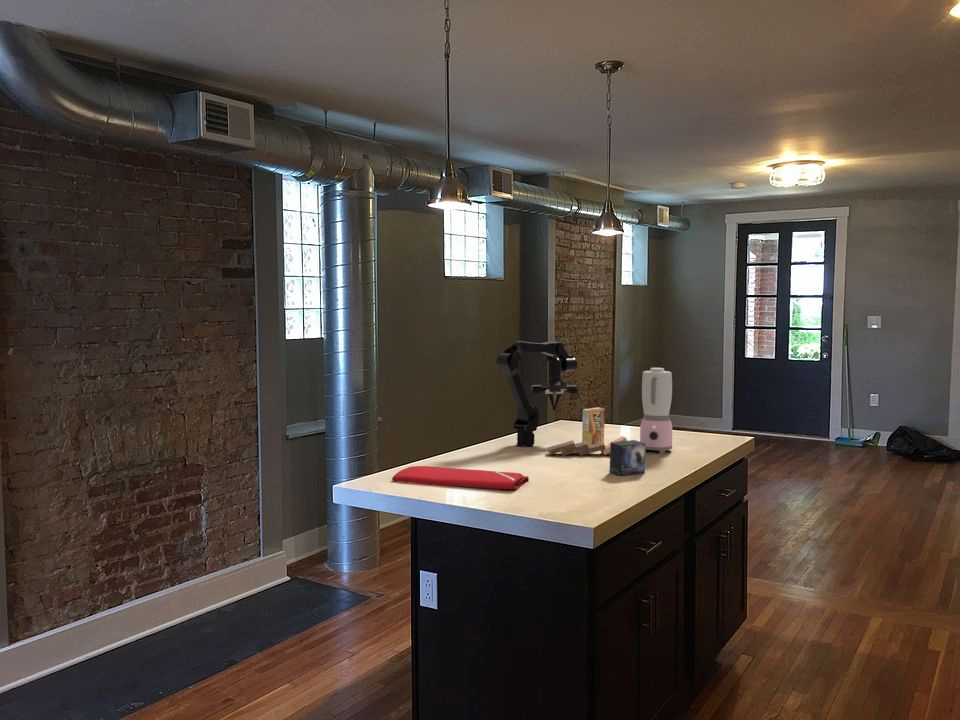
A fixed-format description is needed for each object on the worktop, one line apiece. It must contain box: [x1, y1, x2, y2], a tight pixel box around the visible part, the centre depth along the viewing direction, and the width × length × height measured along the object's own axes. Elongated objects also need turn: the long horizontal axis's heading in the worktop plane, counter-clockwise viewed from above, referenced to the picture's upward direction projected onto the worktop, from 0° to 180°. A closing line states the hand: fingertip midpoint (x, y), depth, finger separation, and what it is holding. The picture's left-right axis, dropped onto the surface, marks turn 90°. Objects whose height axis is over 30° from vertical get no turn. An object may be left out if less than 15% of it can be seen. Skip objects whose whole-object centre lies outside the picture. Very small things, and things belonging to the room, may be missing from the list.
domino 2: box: [560, 441, 589, 457], centre depth 297 cm, size 2×6×10 cm
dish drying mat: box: [391, 465, 530, 491], centre depth 252 cm, size 16×41×4 cm, turn 69°
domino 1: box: [547, 439, 576, 456], centre depth 297 cm, size 2×6×10 cm
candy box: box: [581, 407, 606, 446], centre depth 312 cm, size 9×4×15 cm, turn 129°
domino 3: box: [577, 442, 606, 457], centre depth 297 cm, size 2×6×10 cm
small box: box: [608, 439, 646, 477], centre depth 264 cm, size 11×6×10 cm, turn 117°
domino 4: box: [599, 435, 628, 456], centre depth 297 cm, size 2×6×10 cm
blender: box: [639, 367, 673, 454], centre depth 303 cm, size 16×12×32 cm
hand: (554, 410), depth 325 cm, fingers closed
